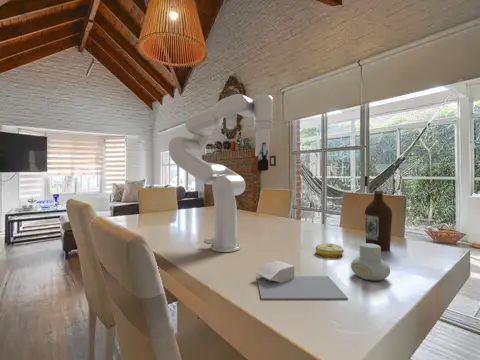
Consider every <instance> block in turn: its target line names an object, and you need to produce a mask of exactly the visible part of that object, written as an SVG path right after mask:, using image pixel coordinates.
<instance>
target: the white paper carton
mask: <svg viewBox="0 0 480 360" xmlns="http://www.w3.org/2000/svg"><path fill="white" fill-rule="evenodd" d="M254 274H255V275H257V276H261V277H264V278H266V279H268V280H273V281H277V282H280V283H281V282H284V281H287V280H290V279H293V278H294V276H295V265H293V264H290V263H288V262H284V261H281V260H274V261H270V262H267V263H263V265H262V266H261V267H260V268H258V269H257V270H256V271H255V272H254Z"/></svg>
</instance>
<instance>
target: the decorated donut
mask: <svg viewBox="0 0 480 360" xmlns="http://www.w3.org/2000/svg"><path fill="white" fill-rule="evenodd" d="M315 251H316V253H317V254H318V255H319V256H321V257H326V258H339V257H341V256H342V255H343V253H344V251H345V249H344V248H343V247H342V246H341V245H338V244H335V243H331V242H330V243H328V242H327V243H320V244H317V245H316V246H315Z"/></svg>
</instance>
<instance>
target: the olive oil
mask: <svg viewBox="0 0 480 360" xmlns="http://www.w3.org/2000/svg"><path fill="white" fill-rule="evenodd" d="M392 220H393V212H392V209H391V207H390V206H389V204H388V203H387V202H385V200H384V193H383V190H374V193H373V199H372V201H371V202H370V203H369V204H367V205H366V207H365V210H364V224H365V243H370V244H376V245H379V246H380V247H381V252H385V251H390V250H391V240H392V239H391V236H392V233H391V232H392Z"/></svg>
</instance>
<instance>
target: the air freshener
mask: <svg viewBox="0 0 480 360" xmlns="http://www.w3.org/2000/svg"><path fill="white" fill-rule="evenodd" d="M350 269H351V271H352V272H353V273H354V274H355V275H356V276H357V277H359V278H360V279H362V280H364V279H365V281H369V280H370V282H371V281H374V282H377V281H382V280H385V279H387V278H388V277H389V276H390V274H391V268H390V266H389V264H388V263H387V262H386V261H385V260H383V259H382V251H381V247H380V246H379V245H376V244H370V243H366V242H365V243H361V244H360V245H359V256H357V257H356V258H354V259H353V260H352V261H351V263H350Z"/></svg>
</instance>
